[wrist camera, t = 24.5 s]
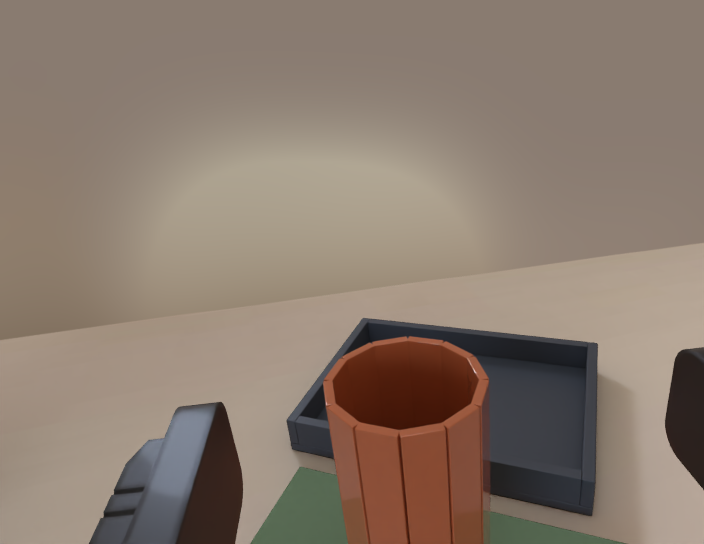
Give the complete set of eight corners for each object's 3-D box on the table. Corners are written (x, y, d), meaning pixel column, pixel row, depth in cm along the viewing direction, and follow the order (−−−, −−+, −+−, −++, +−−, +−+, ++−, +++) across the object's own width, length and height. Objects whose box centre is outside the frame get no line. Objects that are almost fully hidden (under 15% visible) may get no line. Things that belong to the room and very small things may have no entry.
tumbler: (337, 636, 25) (295, 416, 20) (383, 527, 31) (360, 329, 25) (473, 687, 23) (467, 451, 18) (499, 558, 28) (499, 346, 23)
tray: (291, 449, 38) (285, 420, 37) (365, 342, 50) (362, 317, 49) (592, 516, 31) (595, 482, 29) (595, 371, 42) (597, 342, 41)
